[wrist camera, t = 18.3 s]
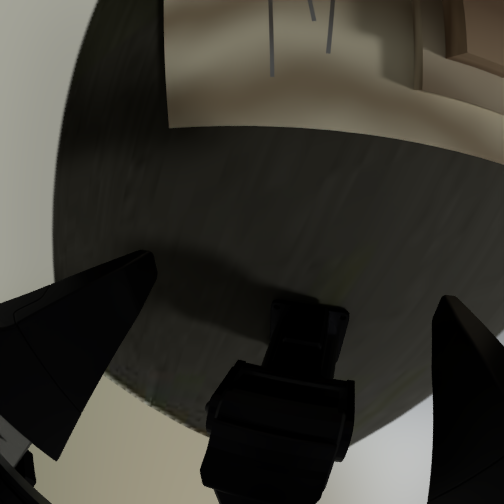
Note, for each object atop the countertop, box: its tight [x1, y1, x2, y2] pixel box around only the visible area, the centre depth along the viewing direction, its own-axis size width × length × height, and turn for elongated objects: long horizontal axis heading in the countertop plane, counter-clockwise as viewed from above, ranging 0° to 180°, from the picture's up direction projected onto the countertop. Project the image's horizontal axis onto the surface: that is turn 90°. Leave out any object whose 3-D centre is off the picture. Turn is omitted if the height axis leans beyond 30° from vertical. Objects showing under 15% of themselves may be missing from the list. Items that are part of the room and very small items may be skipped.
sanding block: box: [411, 0, 504, 116], centre depth 7 cm, size 10×6×5 cm, turn 1°
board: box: [164, 0, 504, 165], centre depth 11 cm, size 16×24×2 cm, turn 91°
